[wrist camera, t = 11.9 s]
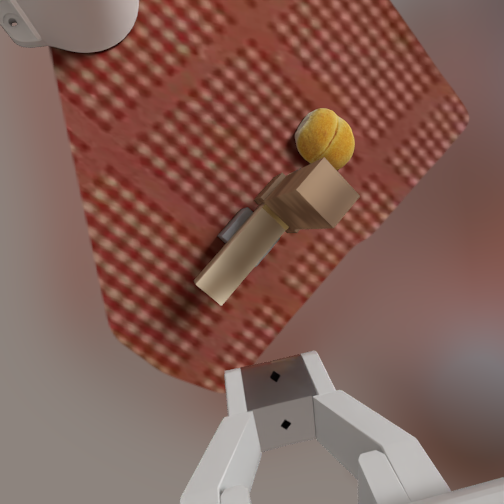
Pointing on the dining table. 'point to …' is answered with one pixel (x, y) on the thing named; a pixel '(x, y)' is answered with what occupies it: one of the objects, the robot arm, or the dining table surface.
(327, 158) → the bread roll
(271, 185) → the plate
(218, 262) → the seesaw
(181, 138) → the dining table surface
